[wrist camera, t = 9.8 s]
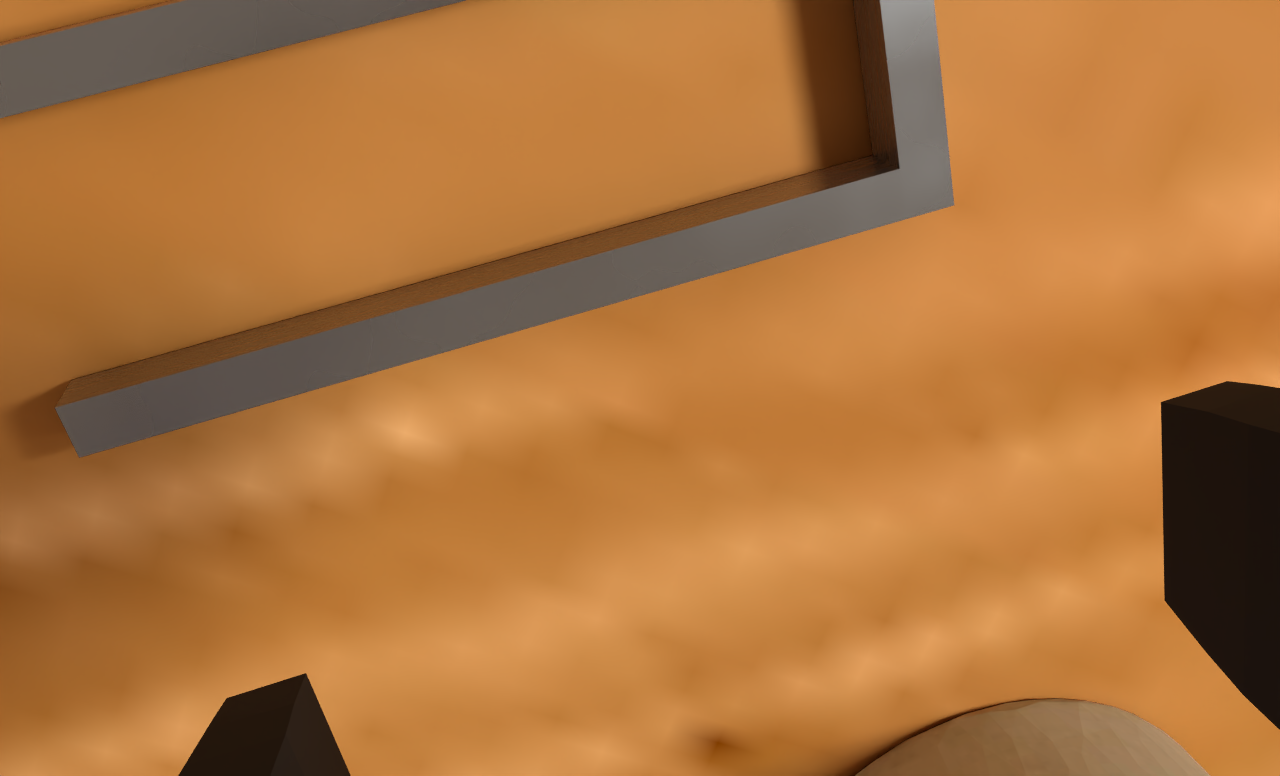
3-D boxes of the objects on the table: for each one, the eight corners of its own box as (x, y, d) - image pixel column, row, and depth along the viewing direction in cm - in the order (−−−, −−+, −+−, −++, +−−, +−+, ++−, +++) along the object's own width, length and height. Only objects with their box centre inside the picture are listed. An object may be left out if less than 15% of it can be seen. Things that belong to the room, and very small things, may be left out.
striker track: (884, -175, 16) (916, -179, 15) (925, 189, 18) (954, 205, 18) (-82, 61, 15) (-111, 73, 14) (93, 427, 17) (79, 457, 16)
